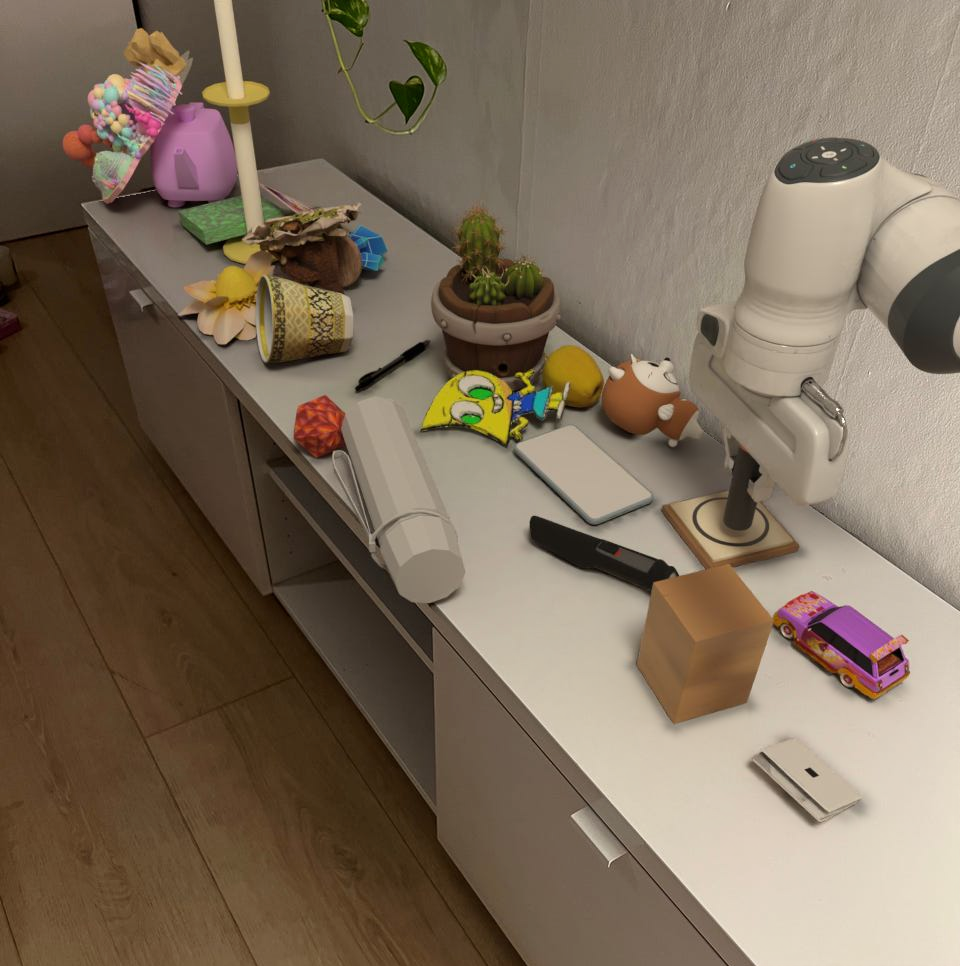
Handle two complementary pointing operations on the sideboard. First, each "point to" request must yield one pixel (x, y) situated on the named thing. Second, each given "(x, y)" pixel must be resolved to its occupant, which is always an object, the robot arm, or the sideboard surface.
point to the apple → (573, 375)
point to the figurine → (649, 401)
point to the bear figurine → (306, 244)
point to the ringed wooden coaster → (727, 532)
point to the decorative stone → (319, 426)
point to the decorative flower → (230, 300)
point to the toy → (491, 405)
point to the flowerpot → (493, 306)
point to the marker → (741, 492)
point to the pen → (391, 365)
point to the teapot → (193, 156)
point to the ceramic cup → (300, 320)
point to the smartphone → (583, 474)
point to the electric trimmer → (600, 553)
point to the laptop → (806, 779)
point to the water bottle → (400, 501)
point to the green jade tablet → (223, 218)
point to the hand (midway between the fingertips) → (745, 483)
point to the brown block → (703, 642)
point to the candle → (239, 127)
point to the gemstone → (358, 254)
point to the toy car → (845, 643)
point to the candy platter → (129, 112)
